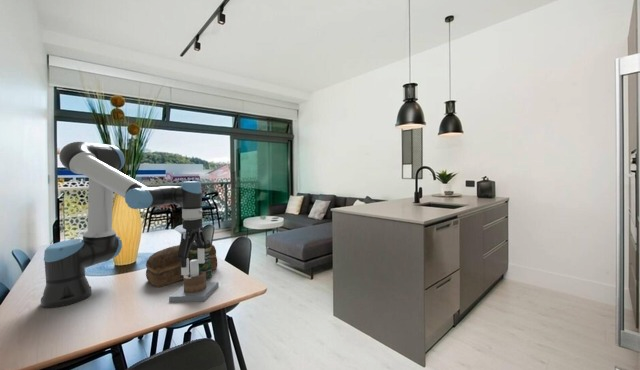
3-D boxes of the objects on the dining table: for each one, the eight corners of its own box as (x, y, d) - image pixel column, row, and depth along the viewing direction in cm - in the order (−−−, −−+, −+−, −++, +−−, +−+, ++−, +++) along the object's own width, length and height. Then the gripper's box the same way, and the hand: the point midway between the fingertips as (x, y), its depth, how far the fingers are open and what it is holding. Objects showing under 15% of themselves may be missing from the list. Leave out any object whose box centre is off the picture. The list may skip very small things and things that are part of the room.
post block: (169, 301, 105) (167, 266, 105) (187, 286, 119) (186, 255, 119) (204, 301, 105) (202, 266, 104) (218, 286, 119) (217, 255, 118)
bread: (142, 281, 126) (141, 248, 125) (206, 263, 151) (205, 235, 150) (155, 289, 117) (153, 254, 116) (221, 268, 142) (220, 239, 141)
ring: (179, 293, 108) (179, 278, 108) (190, 284, 116) (189, 271, 116) (200, 293, 108) (200, 278, 107) (209, 284, 116) (209, 270, 116)
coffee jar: (195, 283, 122) (193, 243, 121) (187, 279, 127) (185, 241, 126) (215, 277, 129) (213, 239, 129) (206, 273, 134) (205, 237, 134)
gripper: (185, 224, 98) (187, 280, 99) (213, 213, 123) (214, 259, 124) (165, 224, 98) (167, 280, 99) (197, 213, 123) (198, 259, 124)
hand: (193, 268), depth 112 cm, fingers open, 13 cm apart
